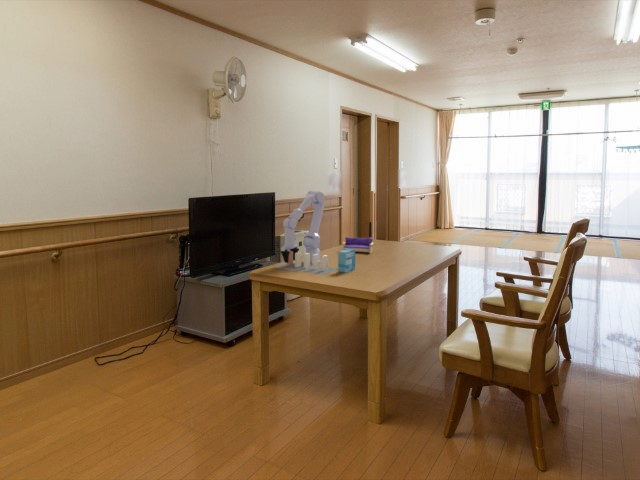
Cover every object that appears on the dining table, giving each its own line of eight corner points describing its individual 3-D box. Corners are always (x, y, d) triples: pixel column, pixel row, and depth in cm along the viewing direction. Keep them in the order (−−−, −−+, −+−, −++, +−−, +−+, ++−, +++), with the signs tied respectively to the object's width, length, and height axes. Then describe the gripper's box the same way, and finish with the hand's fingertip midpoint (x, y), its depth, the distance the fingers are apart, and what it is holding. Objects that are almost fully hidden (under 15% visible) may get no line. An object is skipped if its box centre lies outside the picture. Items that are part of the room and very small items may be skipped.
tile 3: (307, 267, 268) (307, 252, 267) (310, 267, 267) (310, 253, 266) (303, 268, 265) (303, 254, 263) (306, 268, 264) (305, 254, 262)
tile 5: (325, 269, 262) (325, 254, 261) (327, 269, 261) (327, 255, 260) (321, 270, 258) (321, 256, 257) (323, 271, 258) (323, 256, 256)
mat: (289, 263, 281) (289, 262, 281) (338, 269, 263) (338, 268, 263) (273, 268, 266) (273, 267, 266) (323, 275, 249) (323, 274, 249)
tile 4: (316, 268, 265) (316, 253, 264) (318, 268, 264) (318, 254, 263) (312, 269, 262) (312, 255, 260) (314, 269, 261) (314, 255, 259)
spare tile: (290, 264, 274) (290, 250, 273) (293, 265, 274) (293, 251, 272) (286, 266, 271) (286, 252, 269) (288, 266, 270) (288, 252, 269)
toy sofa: (341, 252, 318) (341, 238, 317) (344, 250, 327) (344, 236, 325) (371, 254, 312) (371, 239, 311) (373, 252, 320) (374, 237, 319)
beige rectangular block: (299, 265, 271) (299, 251, 270) (301, 266, 271) (301, 252, 269) (295, 267, 268) (295, 253, 266) (297, 267, 267) (297, 253, 266)
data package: (344, 273, 253) (345, 252, 251) (337, 272, 256) (338, 251, 254) (355, 269, 263) (355, 249, 261) (348, 268, 266) (348, 248, 264)
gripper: (291, 236, 278) (291, 258, 280) (276, 239, 266) (277, 262, 268) (300, 237, 274) (301, 259, 276) (286, 240, 262) (287, 264, 264)
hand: (289, 261), depth 272 cm, fingers open, 7 cm apart
